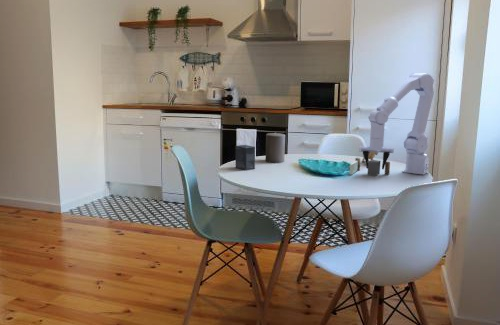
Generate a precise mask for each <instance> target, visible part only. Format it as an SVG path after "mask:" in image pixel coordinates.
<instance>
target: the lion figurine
mask: <svg viewBox="0 0 500 325" xmlns="http://www.w3.org/2000/svg"><path fill="white" fill-rule="evenodd" d="M372 151H374V150H372ZM379 153H380V152H369V156H368V161H370V160H374V158H375V157H376V156H378V155H379ZM361 163H366V161H365V158H364V155H363V158H362V162H361Z"/></svg>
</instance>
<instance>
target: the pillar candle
mask: <svg viewBox="0 0 500 325" xmlns="http://www.w3.org/2000/svg"><path fill="white" fill-rule="evenodd" d="M285 154H286V134H284V133H277V132H276V131H274V133H273V132H272V133H271V132H270V133H269V132H268V133H266V134H265V162H266V163H271V164H282V163H284V162H285Z"/></svg>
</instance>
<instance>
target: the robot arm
mask: <svg viewBox="0 0 500 325" xmlns="http://www.w3.org/2000/svg"><path fill="white" fill-rule="evenodd" d="M434 82H435V78H434V77H433V76H432V75H431V74H430V73H428V72H427V73H426V72H425V73H415V72H413V73H411V74H409V76H408V77H407V78H405V81H404V83H403V84H402V85H401V86H400V87H399V88H398V90H397V91H396V92H395V93H394V94H393V95H392V96H388V97H387V98H386V97H385V98H384V100H383V102H382V103H381V104H380V105H379V106H377V107H376V109H373V110H372V111H371V112H370V114H369V115H368V120H369V122H370V134H369V135H370V136H369V138H370V139H369V146H359V148H358V149H359V152H360V153H362V154H363V155H364V158H365V165H366V169H368V160H369V159H368V156H369V152H379V153H382V165H381V168H382V169H381V170H385V163H386V162H388V159H389V157H390V154H394V150H395V148H392V147H384V141H385V139H384V138H385V126H386V125H385V123H387V122H388V120H389V117H390V115H391V114H392V113H393V112H394V111H395V110H396V109H397V108H398V107H399V102H400V101H401V100H403V98H405V96H406V95H408V94H409V93H410V92H411V91H416V93H417V94H418V95H419V97H418V98H419V99H418V103H417V107H416V112H415V115H414V116H415V117H414V120H413V124H412V127H411V131H409V132H408V133H407V136H406V138H405V140H404V142H403V147H404V148H405V151H406V156H405V169H403V170H401V172H402V173H408V174H415V175H423V176H424V175H426V174H427V173H429V163H430V155H429V154H427V153H425V152H426V151H427V149H428V146H429V145H428V144H429V143H428V139H429V137H428V136H427V134H426V128H427V125H428V121H429V120H428V119H429V116H430V111H431V108H432V104H433V99H434V93H435V92H434ZM372 150H374V151H372Z"/></svg>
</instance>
